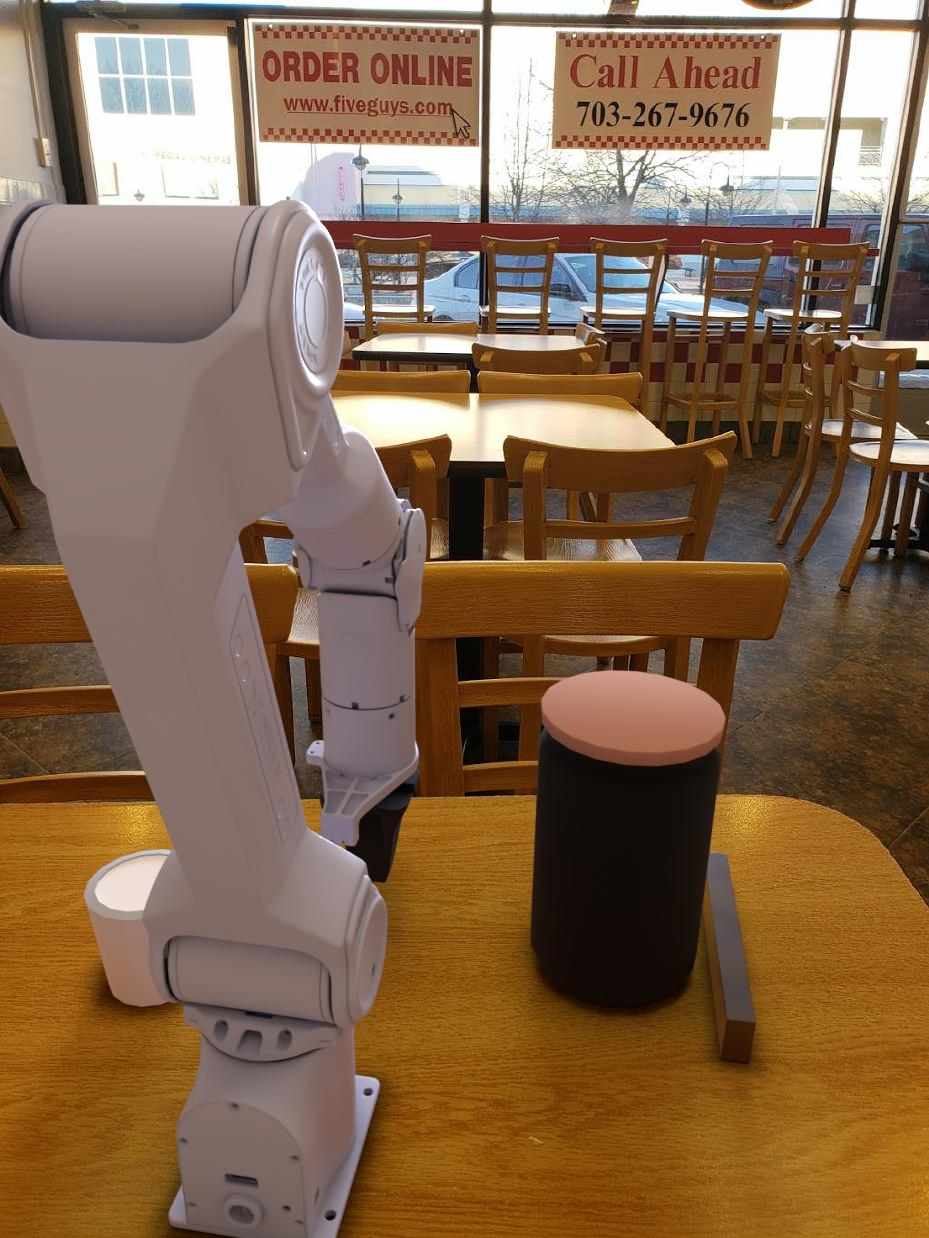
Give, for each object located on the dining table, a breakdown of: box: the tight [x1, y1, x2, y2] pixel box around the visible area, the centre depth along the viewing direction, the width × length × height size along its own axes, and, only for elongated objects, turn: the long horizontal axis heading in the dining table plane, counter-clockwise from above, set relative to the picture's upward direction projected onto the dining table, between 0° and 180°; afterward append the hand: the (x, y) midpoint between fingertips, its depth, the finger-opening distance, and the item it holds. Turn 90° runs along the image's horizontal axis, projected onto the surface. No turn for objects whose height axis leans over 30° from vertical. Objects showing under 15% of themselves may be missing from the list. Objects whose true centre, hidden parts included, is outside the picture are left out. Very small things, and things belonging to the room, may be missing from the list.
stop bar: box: [702, 851, 757, 1064], centre depth 60 cm, size 16×2×3 cm, turn 171°
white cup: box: [83, 848, 172, 1008], centre depth 58 cm, size 7×7×7 cm
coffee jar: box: [529, 669, 727, 1009], centre depth 58 cm, size 11×11×18 cm
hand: (373, 875), depth 62 cm, fingers closed
